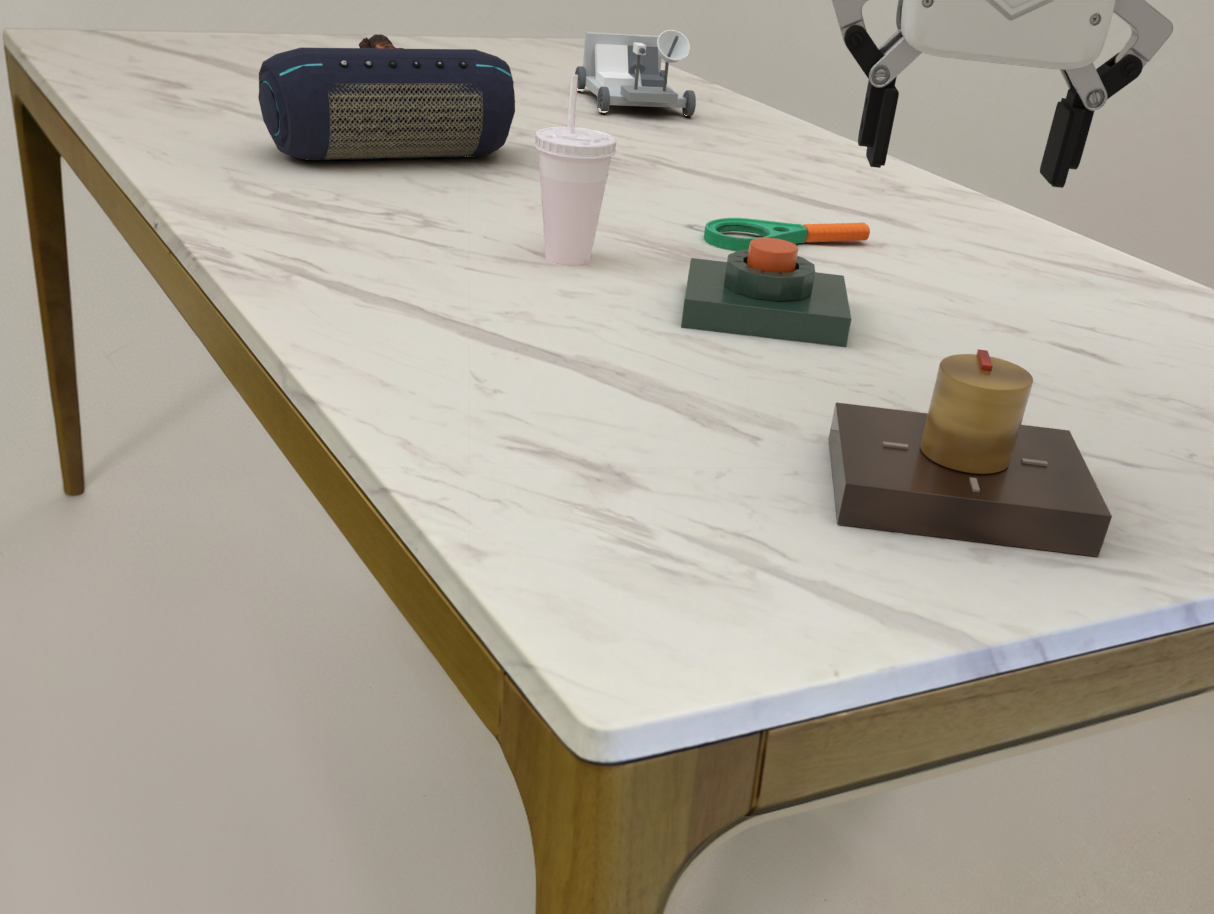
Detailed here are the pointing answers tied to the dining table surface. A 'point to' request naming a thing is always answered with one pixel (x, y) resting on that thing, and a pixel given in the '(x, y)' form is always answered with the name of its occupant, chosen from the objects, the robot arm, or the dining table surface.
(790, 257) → the button
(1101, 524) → the holder base
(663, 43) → the toy car
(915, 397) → the dining table surface
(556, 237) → the smoothie
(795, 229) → the magnifying glass
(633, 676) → the dining table surface
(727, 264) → the button box
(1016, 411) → the dial
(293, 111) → the portable speaker
